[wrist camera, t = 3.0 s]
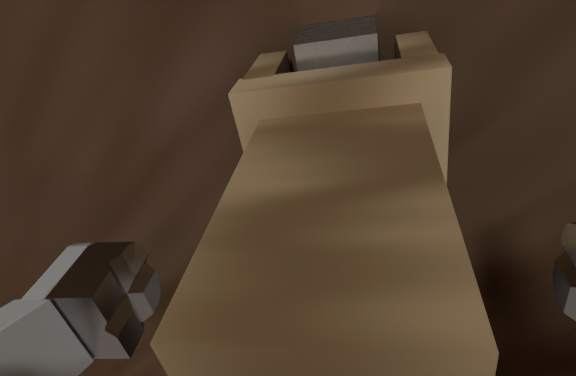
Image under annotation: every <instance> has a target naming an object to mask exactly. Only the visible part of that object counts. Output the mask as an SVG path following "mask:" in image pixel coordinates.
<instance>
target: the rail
mask: <svg viewBox="0 0 576 376" xmlns="http://www.w3.org/2000/svg"><path fill="white" fill-rule="evenodd" d="M293 46H294V52H295V58H296V64H297V70H298V71H306V70H314V69H322V68H330V67H337V66H345V65H353V64H361V63H368V62H376V61H379V58H378V39H377V28H376V21H375V15H374V16H368V17H361V18H354V19H348V20H341V21H335V22H328V23H322V24H315V25H309V26H303V28H302V29H301V31H300V33H299V35H298V37H297V39H296V41H295V43H294V45H293Z"/></svg>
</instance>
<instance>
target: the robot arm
mask: <svg viewBox="0 0 576 376" xmlns="http://www.w3.org/2000/svg"><path fill="white" fill-rule="evenodd" d="M560 242H561V243H562V245H563V247H564V248H565V250H566V252H564V253H563V254H562V255H561V256H559V257H558V258H557V259H556V260H555V264H554V269H553V285H554V291H555V294H556V297H557V301H558V303H559V305H560V307H561V309H562V311H563V313H565V314H566V315H568V316H569V317H570V318H572V319H573V320H575V321H576V222H572V223H567V224H566V226H565V227H564V229H563V231H562V235H561V238H560ZM147 257H148V254H147V252H146V251H145V249H144V247H143V245H142V244H140V243H137V242H95V243H75V244H73V245H70V246H68V247H67V248H66V249H65V250H64V251H63V253H62V254H61V255H60V256H59V257H58V258H57V259H56V260H55V262H54V263H53V264H52V265H51V266H50V267H49V268H48V269H47V271H46V272H45V273H44V274H43V275H42V276H41V277H40V278H39V280H38V281H37V282H36V283H35V284H34V285H33V286H32V287H31V289H30V290H29V291H28V292H27V293H26V294H25V295H24V297H23V298H22V299H21V300H13V301H12V302H10V303H8V304H7V305H5V306H3V307H2V308H0V376H78V375H79V374H80V373H81V372H82V371H84V370H85V369H86V368H87V367H88V366H89V365H90V364H91V363H92V362H93V361H94V360H93V359H130V358H131V356H132V354H133V352H134V350H135V348H136V346H137V344H138V343H139V341H140V339H141V337H142V335H143V333H144V331H145V330H144V325H143V321H144V320H146V319H147V318H148V317H149V316H151V315H152V314H153V313H154V311H155V309H156V307H157V305H158V303H159V299H160V292H161V285H160V280H159V277H158V275H157V273H156V270H154V269H153V268H152V267H150V266H149V265H148V264H146V260H147ZM575 336H576V333H575Z"/></svg>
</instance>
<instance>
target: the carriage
mask: <svg viewBox="0 0 576 376" xmlns="http://www.w3.org/2000/svg"><path fill="white" fill-rule="evenodd" d="M395 44H396V59H392V60H384V61H376V62H368V63H361V64H353V65H345V66H337V67H330V68H322V69H314V70H306V71H298V72H291V71H290V65H289V59H288V54H287V51H280V52H273V53H265V54H260V55H259V57H258V58H257V59H256V61H255V62H254V64H253V65H252V66H251V68H250V69H249V71H248V72H247V73H246V75H245V76H244V78H243V79H239V80H238V81H237V82H236V84H235V85H234V87H233V88H232V89H231V91H230V92H229V93H228V96H229V99H230V103H231V107H232V111H233V114H234V118H235V122H236V126H237V129H238V133H239V137H240V141H241V144H242V148H243V152H244V153H243V155H242V157H241V159H240V161H239V163H238V165H237V167H236V169H235V171H234V173H233V175H232V177H231V179H230V181H229V183H228V185H227V187H226V190H225V192H224V194H223V196H222V198H221V200H220V202H219V204H218V206H217V208H216V210H215V212H214V214H213V216H212V218H211V220H210V222H209V224H208V226H207V228H206V230H205V232H204V234H203V236H202V239H201V241H200V243H199V245H198V247H197V249H196V251H195V253H194V255H193V257H192V259H191V261H190V263H189V265H188V267H187V269H186V271H185V273H184V275H183V277H182V279H181V281H180V283H179V286H178V288H177V290H176V292H175V294H174V296H173V298H172V300H171V302H170V304H169V306H168V308H167V310H166V312H165V314H164V316H163V318H162V320H161V322H160V324H159V326H158V328H157V330H156V332H155V335H154V337H153V339H152V341H151V343H150V346H151V347H152V349H153V351H154V353H155V354H156V356H157V358H158V359H159V361H160V363H161V365H162V366H163V368H164V370H165V372H166V373H167V375H168V376H495V373H496V368H497V362H498V356H499V352H498V349H497V345H496V342H495V339H494V336H493V333H492V329H491V326H490V323H489V320H488V317H487V313H486V310H485V307H484V304H483V301H482V297H481V294H480V291H479V288H478V285H477V281H476V278H475V275H474V272H473V269H472V265H471V262H470V259H469V256H468V253H467V249H466V246H465V243H464V240H463V237H462V233H461V230H460V227H459V224H458V221H457V217H456V214H455V211H454V208H453V205H452V201H451V198H450V195H449V192H448V189H447V164H448V142H449V120H450V98H451V76H452V66H451V65H450V63H449V61H448V59H447V58H446V56H445V54H444V53H438V51H437V49H436V47H435V46H434V44H433V42H432V40H431V38H430V36H429V35H428V33H427V31H421V32H414V33H407V34H400V35H395Z"/></svg>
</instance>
